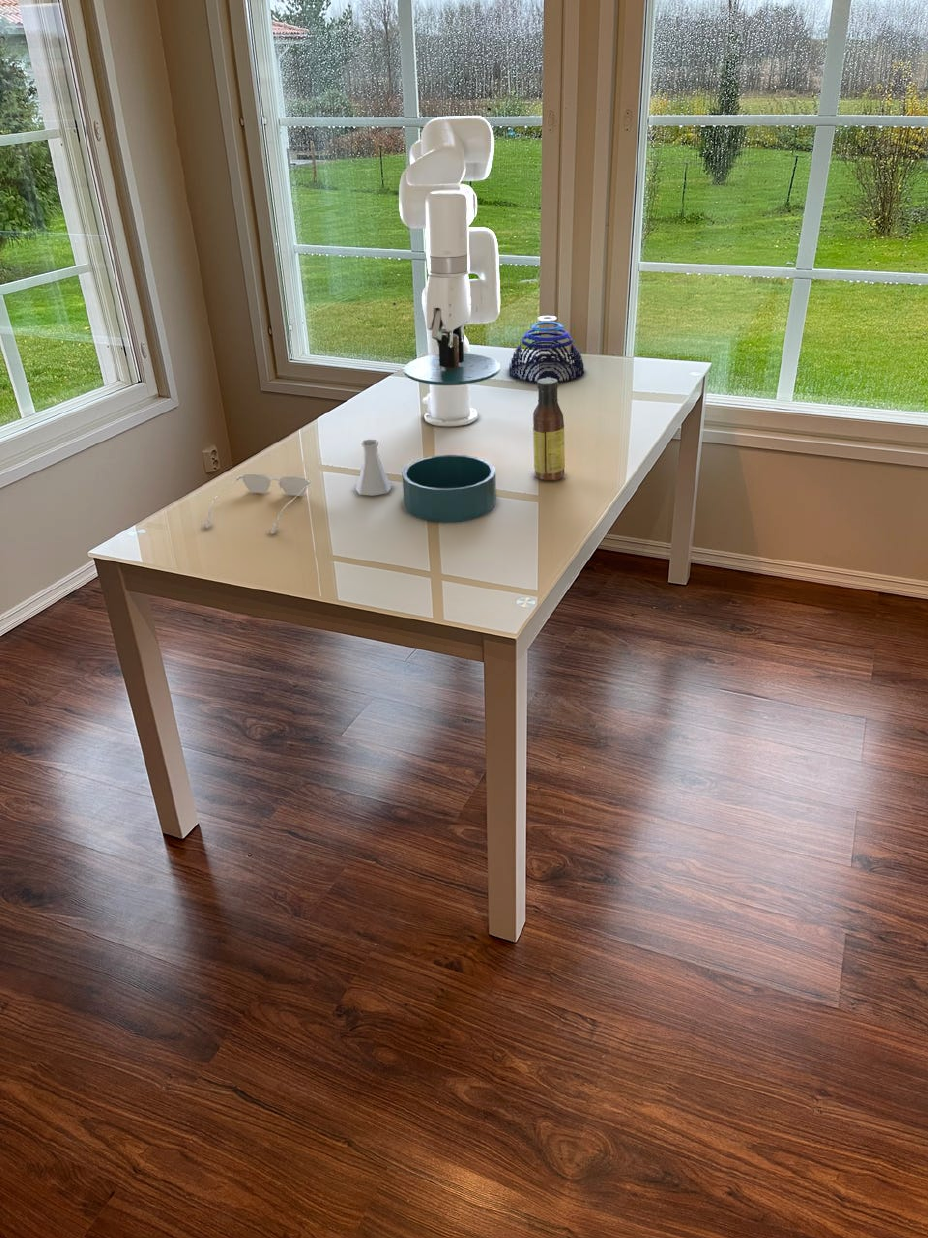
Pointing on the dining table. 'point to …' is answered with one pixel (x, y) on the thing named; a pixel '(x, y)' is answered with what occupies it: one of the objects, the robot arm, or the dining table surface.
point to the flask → (372, 472)
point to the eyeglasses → (262, 483)
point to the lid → (452, 369)
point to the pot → (449, 488)
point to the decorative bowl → (552, 374)
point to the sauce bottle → (548, 432)
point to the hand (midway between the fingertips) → (451, 363)
